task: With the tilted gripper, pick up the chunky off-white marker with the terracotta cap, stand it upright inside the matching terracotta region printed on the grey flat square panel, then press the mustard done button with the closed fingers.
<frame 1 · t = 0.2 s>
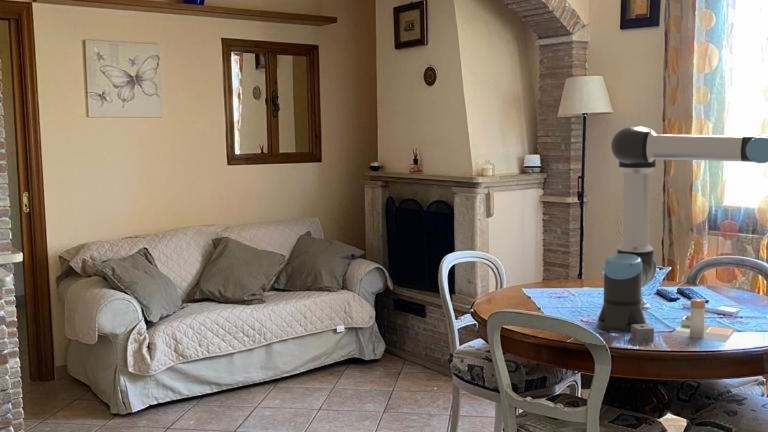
grey flat square panel: (703, 333, 238), on the table
grey smiley picture cube: (642, 342, 232), on the table
button housing: (690, 325, 245), resting on grey flat square panel
marker: (696, 334, 235), point 1 cm above the table, touching grey flat square panel
done button: (691, 318, 245), point 3 cm above the table, slide at 0.0 cm
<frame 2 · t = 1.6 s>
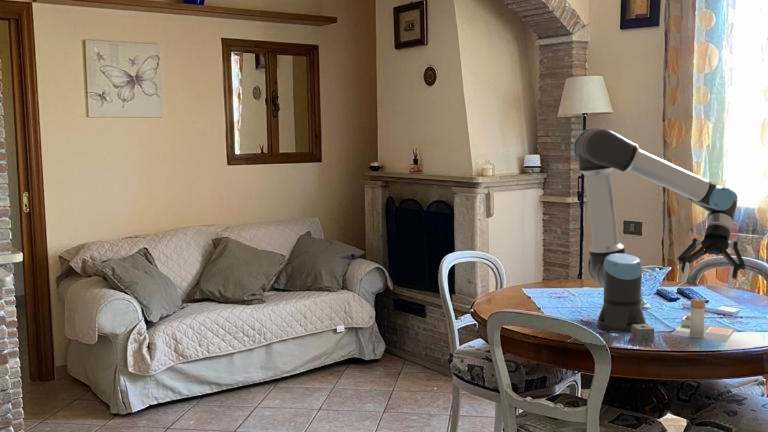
hand: (706, 283, 241), 15 cm above the table, tool tilted 45°, fingers open, 13 cm apart
nothing on the table moved.
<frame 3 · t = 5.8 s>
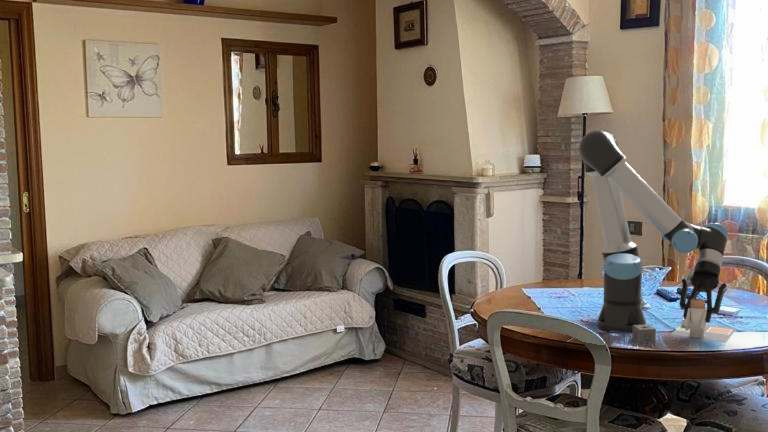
hand: (694, 329, 231), 4 cm above the table, tool tilted 45°, fingers closed on marker, 4 cm apart
marker: (696, 334, 235), point 1 cm above the table, touching gripper
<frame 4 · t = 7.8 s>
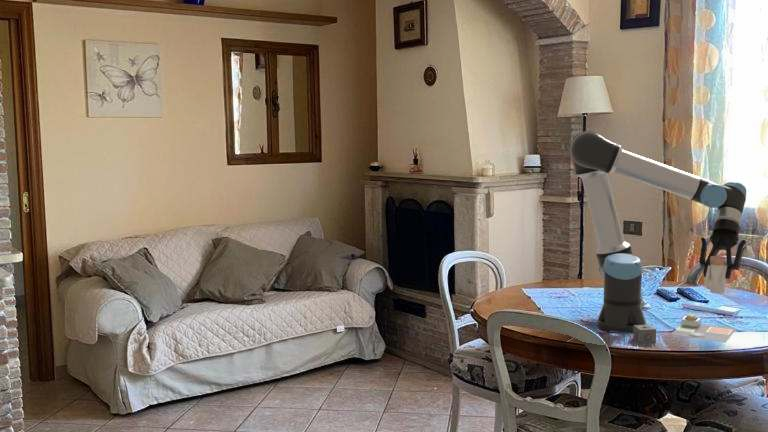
hand: (714, 285, 232), 16 cm above the table, tool tilted 45°, fingers closed on marker, 4 cm apart
marker: (717, 292, 235), point 14 cm above the table, touching gripper
everything else where it was.
when the fingers open (5 cm above the table, at t = 10.3 s): marker drops 1 cm, resting on grey flat square panel.
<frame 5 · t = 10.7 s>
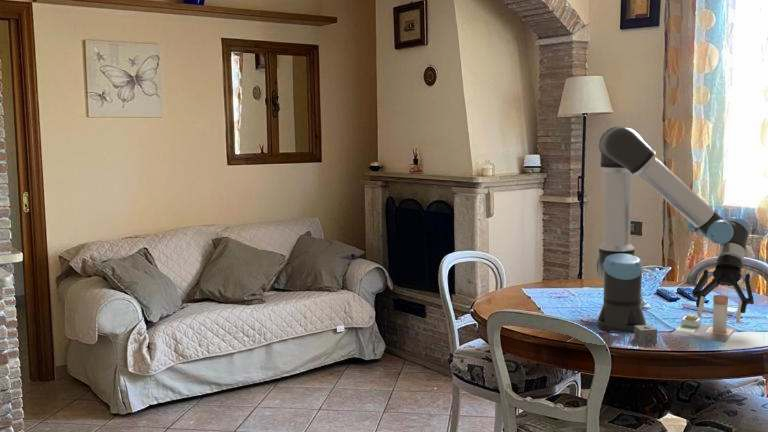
hand: (718, 318, 235), 6 cm above the table, tool tilted 45°, fingers open, 10 cm apart
marker: (719, 330, 238), point 1 cm above the table, touching grey flat square panel
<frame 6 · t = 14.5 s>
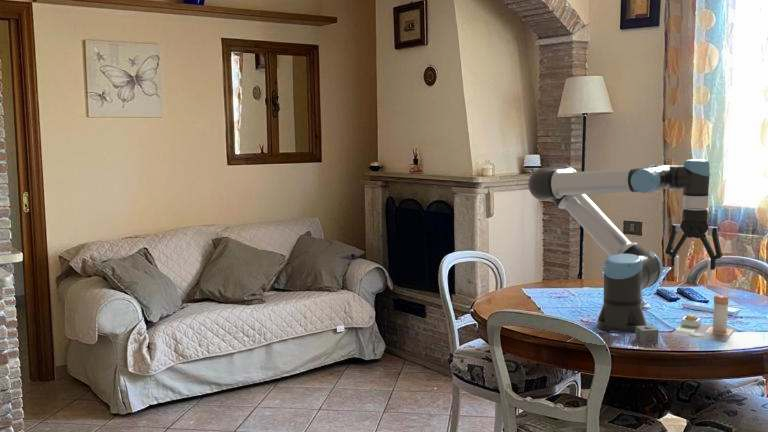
hand: (692, 277, 243), 17 cm above the table, tool pointing down, fingers open, 9 cm apart
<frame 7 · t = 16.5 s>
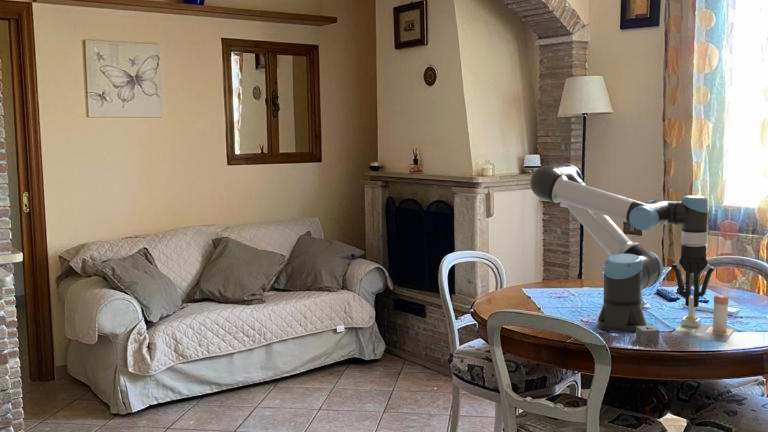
hand: (691, 316, 245), 4 cm above the table, tool pointing down, fingers closed
done button: (691, 319, 245), point 3 cm above the table, slide at 0.4 cm, touching gripper
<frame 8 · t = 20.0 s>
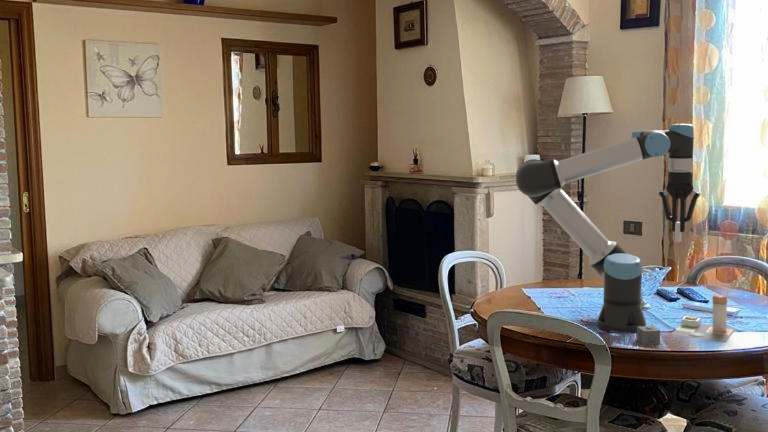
hand: (677, 241, 253), 26 cm above the table, tool pointing down, fingers closed
done button: (691, 320, 245), point 2 cm above the table, slide at 0.7 cm
at the end: marker 0.0 cm from the target spot, point 0.9 cm above the table; marker tilted 2°; done button slide at 0.7 cm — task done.
